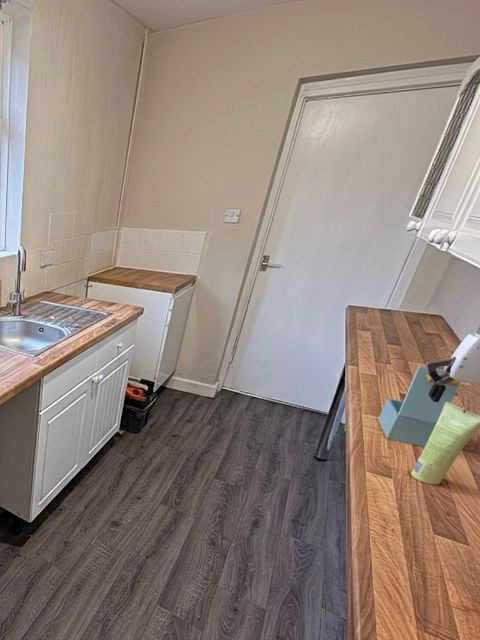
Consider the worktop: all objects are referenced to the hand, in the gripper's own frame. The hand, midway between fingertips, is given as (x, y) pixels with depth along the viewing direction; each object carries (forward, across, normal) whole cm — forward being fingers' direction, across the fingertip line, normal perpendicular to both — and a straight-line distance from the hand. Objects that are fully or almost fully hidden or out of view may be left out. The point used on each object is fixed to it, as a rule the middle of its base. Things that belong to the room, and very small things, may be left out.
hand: (464, 405), depth 92 cm
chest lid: (+5, 0, -20) cm, 21 cm away
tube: (+20, 0, 0) cm, 21 cm away
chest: (+20, 0, -26) cm, 33 cm away
